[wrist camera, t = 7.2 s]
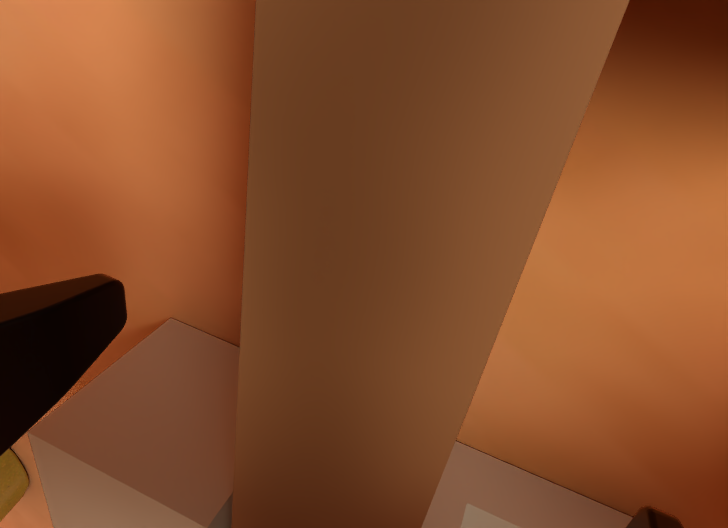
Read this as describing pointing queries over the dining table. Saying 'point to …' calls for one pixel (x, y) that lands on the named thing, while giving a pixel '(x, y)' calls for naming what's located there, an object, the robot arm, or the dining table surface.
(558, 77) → the walnut bar
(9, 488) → the plant pot
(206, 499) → the notch rack
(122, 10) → the dining table surface
